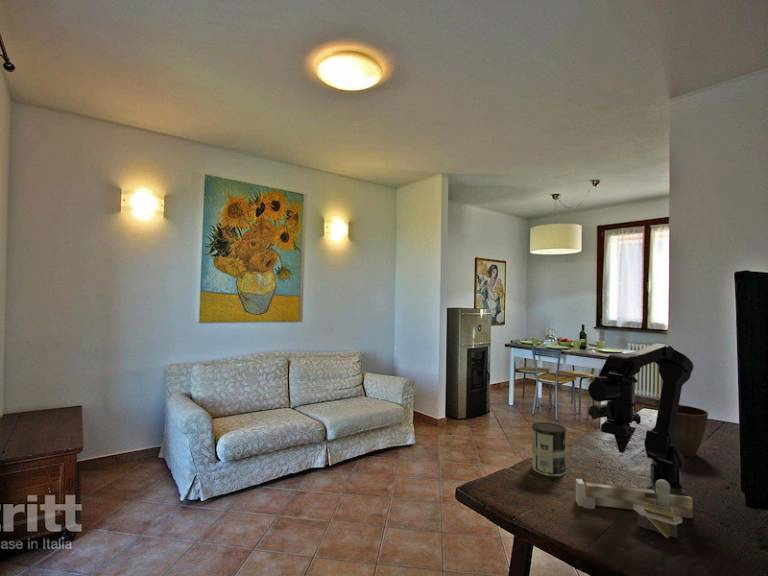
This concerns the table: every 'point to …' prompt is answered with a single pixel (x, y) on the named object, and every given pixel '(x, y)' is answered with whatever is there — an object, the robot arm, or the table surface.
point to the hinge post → (663, 495)
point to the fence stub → (681, 505)
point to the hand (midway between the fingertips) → (621, 452)
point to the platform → (657, 520)
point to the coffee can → (549, 449)
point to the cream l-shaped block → (583, 496)
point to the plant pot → (690, 429)
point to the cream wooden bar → (620, 496)
